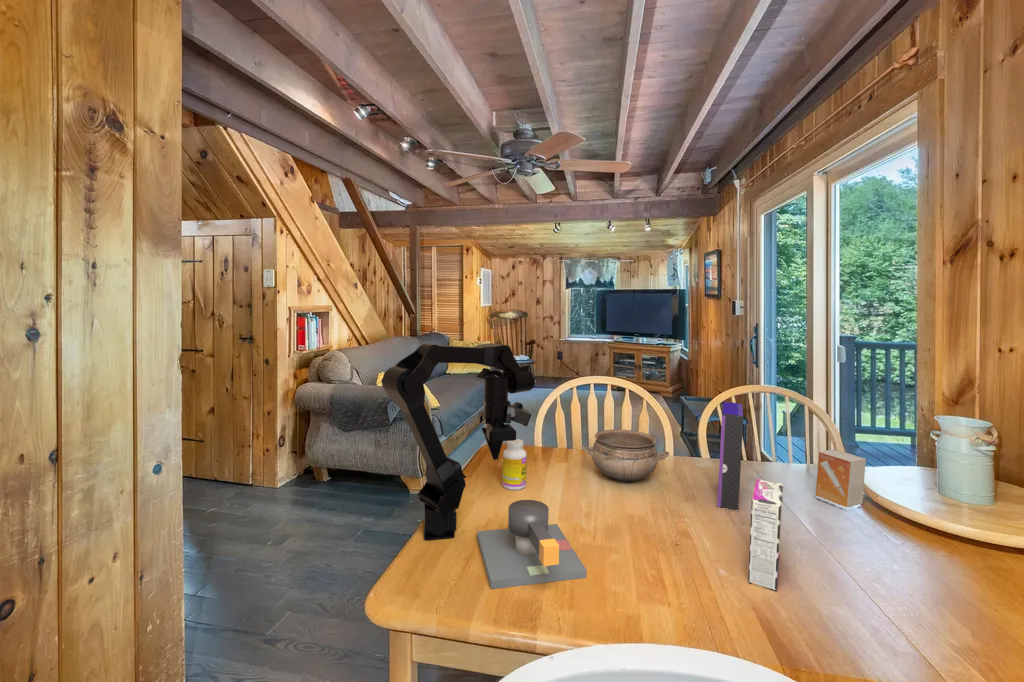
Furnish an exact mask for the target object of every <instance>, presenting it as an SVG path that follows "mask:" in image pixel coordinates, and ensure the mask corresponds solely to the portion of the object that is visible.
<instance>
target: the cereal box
mask: <svg viewBox="0 0 1024 682" xmlns="http://www.w3.org/2000/svg"><path fill="white" fill-rule="evenodd" d="M720 427H721V429H720V445H719V446H720V448H719V463H718V464H719V466H718V483H717V484H718V486H717V504H716V505H717V506H716V508H717V507H720V508H719V509H722V508H726V509H725V510H727V508H728V509H733V510H738V511H739V503H740V487H741V485H740V483H741V468H742V467H741V466H742V449H743V432H744V431H743V430H744V412H743V404H742V403H738V402H729V401H728V402H727V401H723V402H722V411H721V426H720ZM733 510H732V511H733Z"/></svg>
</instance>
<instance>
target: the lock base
mask: <svg viewBox="0 0 1024 682" xmlns="http://www.w3.org/2000/svg"><path fill="white" fill-rule="evenodd" d="M547 532H548V533H549V534H550V536H551V537H552V539H555V540H556V542H557V543H558V544H559V564H557V565H550V566H543V565H542V563H541V561H540V560H539V555H538V553H537V552H536V550H535V548H534V547H533V545H532V543H531V542H530V540H529V538H524V537H519V536H516V535H514V534H512V533H511V532H510V531H509V529H508V527H507V528H501V529H499V528H498V529H491V530H490V529H489V530H488V529H487V530H477V531H476V534H477V535H476V539H477V542H478V546H479V551H480V554H481V556H482V560H483V561H482V562H483V565H484V568H485V572H486V575H487V579H488V583H489V586H490V589H491V590H495V589H503V588H512V587H521V586H529V585H535V584H544V583H546V584H547V583H554V582H562V581H563V582H564V581H570V580H578V579H586V578H587V571H588V570H587V568H586V567H585V565H584V563H583V562H582V560H581V559H580V557H579V556H578V554H577V552H576V551H575V550H574V548H573V547H572V546H571V544H570V542H569V541H568V539H567V538H566V536H565V534H564V533H563V531H562V529H561V528H560V526H559V525H558V524H557V523H553V524H550V523H549V524H548V531H547Z"/></svg>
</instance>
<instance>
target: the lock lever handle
mask: <svg viewBox="0 0 1024 682" xmlns="http://www.w3.org/2000/svg"><path fill="white" fill-rule="evenodd" d="M507 512H508V514H507V515H508V516H507V517H508V519H507V522H508V523H507V524H508V525H507V526H508V527H507V528H508V529H509V531H510V532H511V533H512V534H514V535H516V536H519V537H524V538H529V540H530V542H531V543H532V545H533V547H534V548H535V550H536V552H537V553H538V555H539V560H540V561H541V563H542V565H543V566H550V565H557V564H559V544H558V543H557V542H556V540H555V539H552V537H551V536H550V534H549V533H548V532H547V531H548V525H549V506H548V505H547V504H546V503H544V502H542V501H539V500H534V499H521V500H517V501H514V502H512V503H510V504H509V505H508V510H507Z"/></svg>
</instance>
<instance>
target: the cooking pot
mask: <svg viewBox="0 0 1024 682" xmlns="http://www.w3.org/2000/svg"><path fill="white" fill-rule="evenodd" d="M594 438H595V441H594V443H593V446H592V447H591V446H588V445H584V444H582V445H581V448H580V449H582V450H583V452H585V453H586V454H588V455H589V456H591V458H592V462H593V464H594V465H595V467H596V468H597V469H598V470H599V471H600V472H601V473H603V474H605V475H606V476H608V477H610V478H611V479H612V480H614V481H616V482H619V483H626V484H628V483H633V482H635V481H638V480H640V479H643V478H645V477H648V476H649V475H651V474H652V473H653V472H654V470H656V468H657V465H658V462H659V461H661V460H663V459H666V458H668V457H669V456H670V452H669V451H657V448H656V445H655V444H656V442H657V439H656V438H655V437H654V436H653V435H650V434H648V433H645V432H642V431H637V430H631V429H621V428H620V429H618V428H617V429H616V428H615V429H605V430H600V431H597V432H595V433H594Z"/></svg>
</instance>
